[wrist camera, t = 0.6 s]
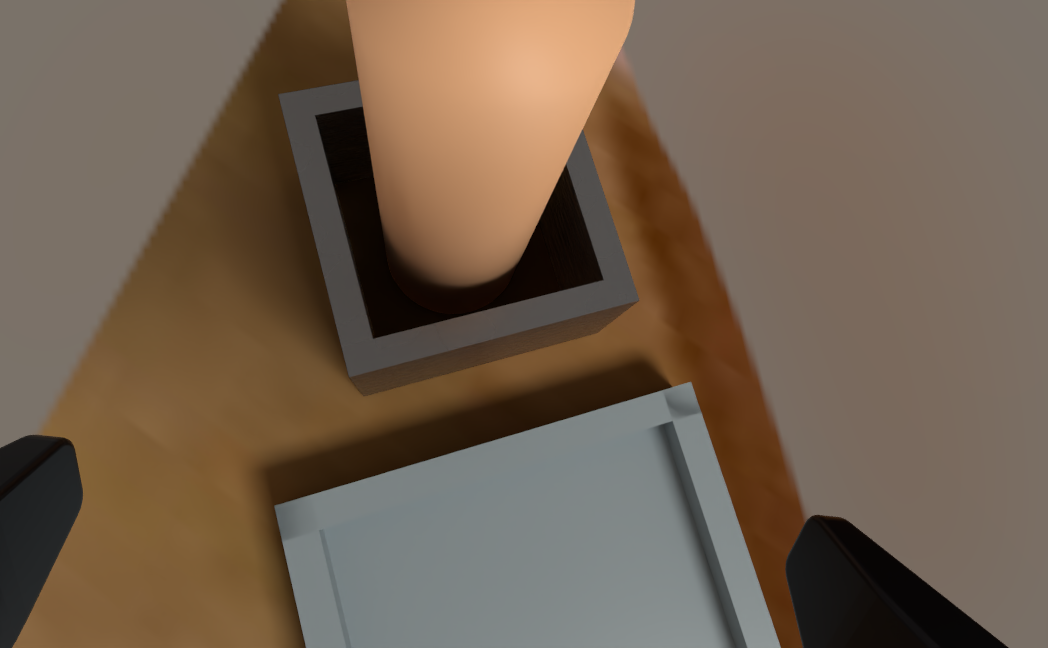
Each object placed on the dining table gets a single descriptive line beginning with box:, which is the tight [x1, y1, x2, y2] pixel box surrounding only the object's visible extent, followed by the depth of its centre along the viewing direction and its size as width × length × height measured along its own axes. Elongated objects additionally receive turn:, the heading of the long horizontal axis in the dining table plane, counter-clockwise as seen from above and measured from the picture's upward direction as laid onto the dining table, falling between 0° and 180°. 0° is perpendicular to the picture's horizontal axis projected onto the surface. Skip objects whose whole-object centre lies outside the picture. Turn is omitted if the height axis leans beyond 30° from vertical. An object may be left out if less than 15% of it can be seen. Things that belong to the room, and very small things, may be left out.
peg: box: [346, 0, 635, 314], centre depth 16 cm, size 4×4×13 cm
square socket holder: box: [278, 80, 639, 396], centre depth 20 cm, size 8×8×4 cm
